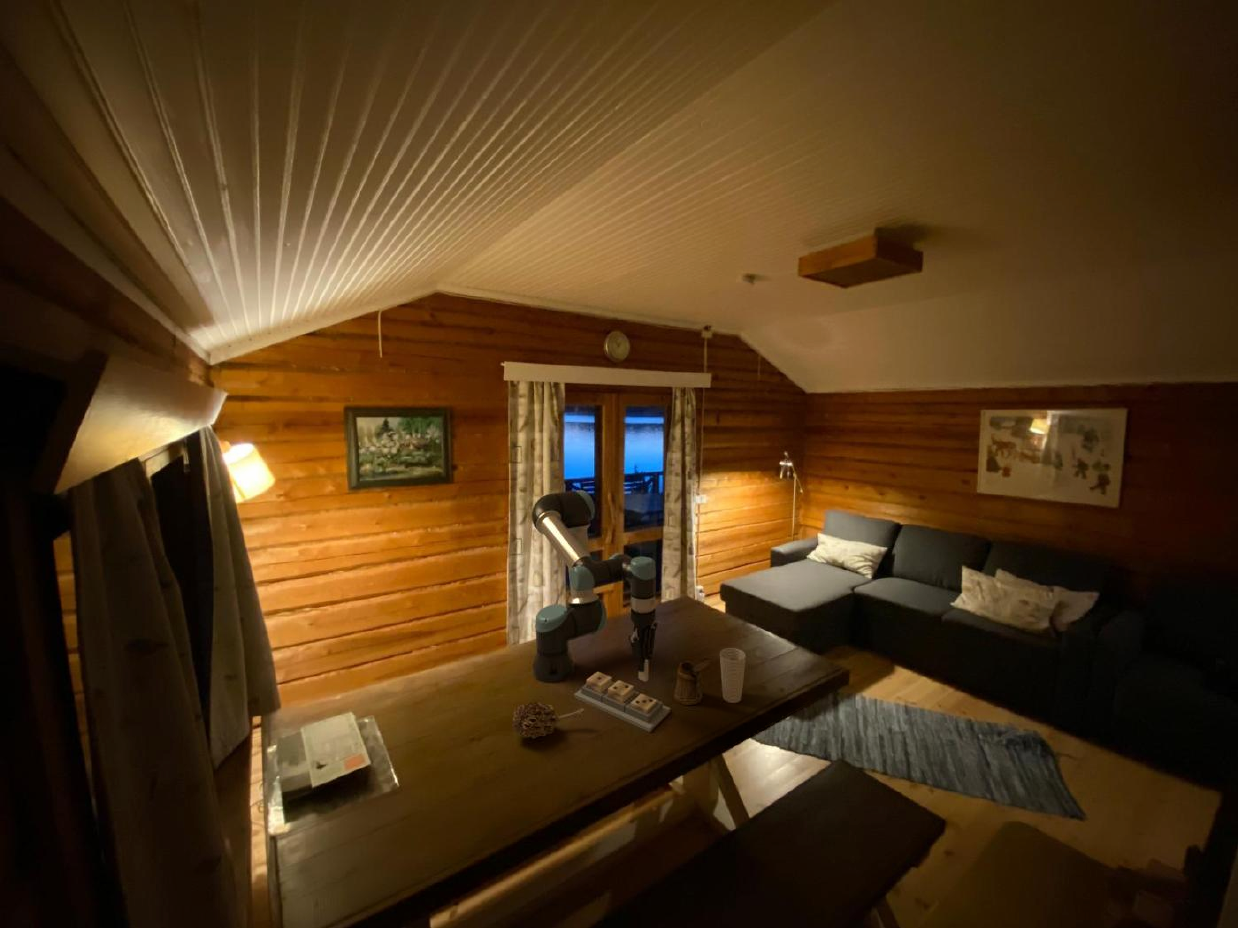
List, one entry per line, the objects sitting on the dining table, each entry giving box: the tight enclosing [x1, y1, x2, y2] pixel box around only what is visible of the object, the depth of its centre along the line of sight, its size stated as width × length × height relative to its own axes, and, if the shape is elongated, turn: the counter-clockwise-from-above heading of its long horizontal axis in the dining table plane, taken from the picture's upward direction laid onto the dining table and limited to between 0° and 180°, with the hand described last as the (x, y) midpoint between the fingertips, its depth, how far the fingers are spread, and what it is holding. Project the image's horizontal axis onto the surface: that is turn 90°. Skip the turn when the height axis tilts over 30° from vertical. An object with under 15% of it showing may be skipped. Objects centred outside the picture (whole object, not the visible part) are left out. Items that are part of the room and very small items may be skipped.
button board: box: [573, 681, 671, 733], centre depth 166 cm, size 30×12×3 cm, turn 54°
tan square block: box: [585, 671, 613, 694], centre depth 171 cm, size 6×6×3 cm
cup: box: [719, 647, 747, 704], centre depth 168 cm, size 8×8×16 cm
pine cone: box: [512, 701, 585, 739], centre depth 153 cm, size 22×10×10 cm, turn 109°
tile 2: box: [608, 680, 635, 703], centre depth 166 cm, size 6×6×3 cm
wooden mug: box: [673, 658, 711, 706], centre depth 167 cm, size 9×14×18 cm, turn 30°
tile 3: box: [631, 693, 658, 714], centre depth 161 cm, size 6×6×3 cm
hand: (643, 679), depth 160 cm, fingers closed
